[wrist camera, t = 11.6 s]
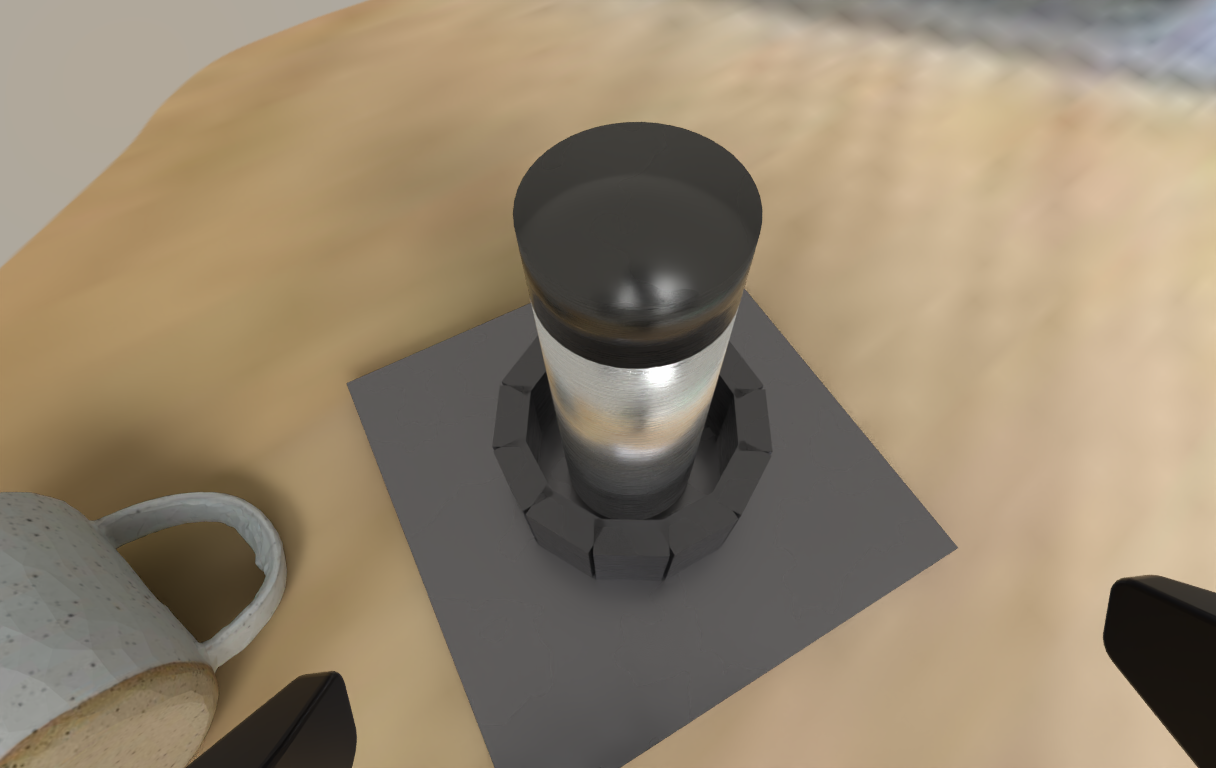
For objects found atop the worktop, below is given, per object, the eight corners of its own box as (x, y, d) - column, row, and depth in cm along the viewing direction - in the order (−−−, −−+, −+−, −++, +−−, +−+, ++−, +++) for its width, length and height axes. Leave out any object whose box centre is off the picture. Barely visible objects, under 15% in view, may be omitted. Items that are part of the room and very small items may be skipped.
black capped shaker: (649, 546, 20) (681, 352, 9) (543, 477, 21) (461, 234, 10) (713, 443, 22) (804, 177, 11) (611, 385, 23) (603, 94, 12)
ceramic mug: (71, 928, 16) (-304, 1070, 10) (-83, 729, 18) (-475, 732, 12) (360, 590, 21) (241, 524, 14) (206, 463, 23) (40, 354, 16)
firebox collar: (523, 828, 17) (498, 860, 13) (354, 393, 24) (305, 332, 20) (946, 553, 21) (1020, 517, 17) (694, 242, 28) (707, 168, 24)
